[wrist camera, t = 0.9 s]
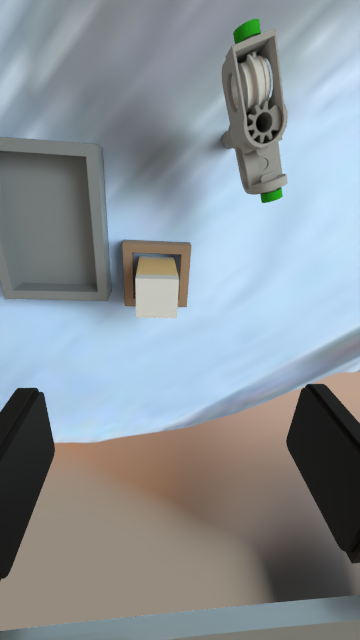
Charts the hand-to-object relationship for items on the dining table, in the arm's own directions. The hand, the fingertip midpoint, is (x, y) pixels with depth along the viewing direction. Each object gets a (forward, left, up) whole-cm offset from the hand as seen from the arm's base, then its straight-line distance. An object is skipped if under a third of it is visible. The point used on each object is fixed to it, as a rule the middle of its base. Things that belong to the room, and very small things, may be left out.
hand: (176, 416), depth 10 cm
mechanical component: (-11, +6, -25) cm, 28 cm away
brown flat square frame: (+3, -1, -25) cm, 25 cm away
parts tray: (-2, -12, -25) cm, 27 cm away
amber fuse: (+3, -1, -25) cm, 25 cm away
